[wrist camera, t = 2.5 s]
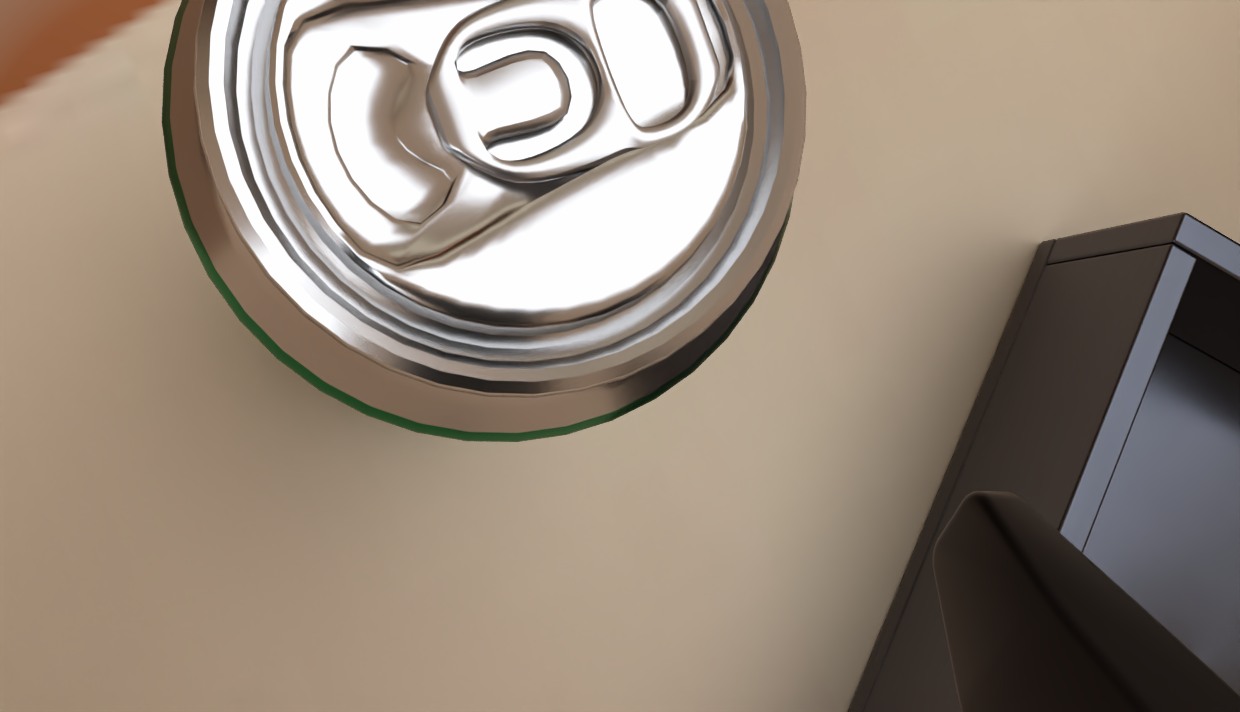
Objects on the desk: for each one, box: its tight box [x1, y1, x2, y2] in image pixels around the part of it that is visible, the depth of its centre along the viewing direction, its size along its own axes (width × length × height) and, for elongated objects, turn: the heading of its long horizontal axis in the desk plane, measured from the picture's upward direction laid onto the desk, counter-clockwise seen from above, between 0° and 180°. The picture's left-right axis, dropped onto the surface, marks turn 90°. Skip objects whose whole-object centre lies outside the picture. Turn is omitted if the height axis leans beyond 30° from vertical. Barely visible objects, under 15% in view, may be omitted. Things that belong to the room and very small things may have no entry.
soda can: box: [162, 0, 806, 442], centre depth 13 cm, size 5×5×12 cm
